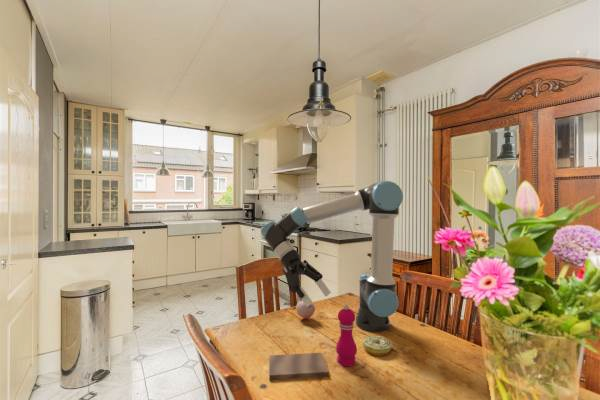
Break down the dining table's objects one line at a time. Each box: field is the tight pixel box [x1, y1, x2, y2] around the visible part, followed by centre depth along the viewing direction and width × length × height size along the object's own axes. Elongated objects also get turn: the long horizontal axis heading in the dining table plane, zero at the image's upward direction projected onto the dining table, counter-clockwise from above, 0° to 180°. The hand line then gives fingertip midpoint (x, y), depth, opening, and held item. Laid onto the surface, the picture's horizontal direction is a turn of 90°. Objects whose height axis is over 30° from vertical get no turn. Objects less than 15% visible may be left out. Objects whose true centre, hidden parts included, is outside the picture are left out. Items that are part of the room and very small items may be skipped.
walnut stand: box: [268, 352, 330, 381], centre depth 99 cm, size 19×12×2 cm, turn 96°
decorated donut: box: [362, 335, 393, 357], centre depth 112 cm, size 10×11×4 cm
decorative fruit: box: [295, 298, 316, 320], centre depth 140 cm, size 9×8×10 cm
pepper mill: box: [335, 304, 358, 367], centre depth 103 cm, size 7×7×20 cm
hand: (319, 299), depth 109 cm, fingers open, 13 cm apart
